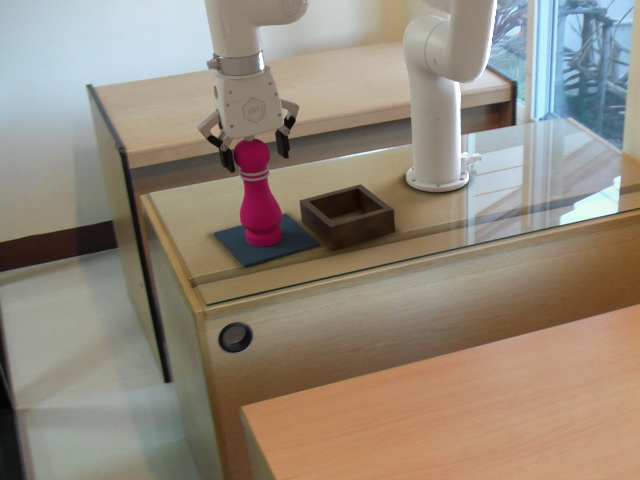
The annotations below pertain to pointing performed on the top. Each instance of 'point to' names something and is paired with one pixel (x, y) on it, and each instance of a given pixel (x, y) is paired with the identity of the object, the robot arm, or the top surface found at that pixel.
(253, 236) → the pepper mill
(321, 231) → the stand
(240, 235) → the mat
